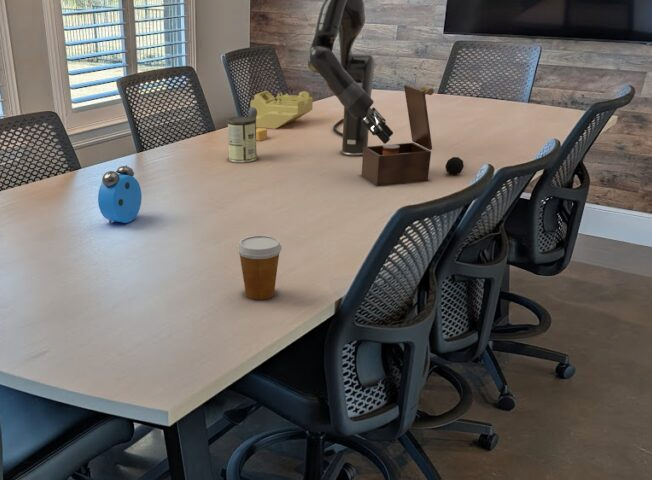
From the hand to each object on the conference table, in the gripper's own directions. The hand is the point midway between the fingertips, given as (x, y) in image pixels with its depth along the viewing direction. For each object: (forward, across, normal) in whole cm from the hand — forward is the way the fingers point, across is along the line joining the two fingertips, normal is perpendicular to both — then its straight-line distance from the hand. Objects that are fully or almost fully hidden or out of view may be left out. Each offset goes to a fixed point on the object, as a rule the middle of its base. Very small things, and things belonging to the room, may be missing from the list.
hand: (389, 138), depth 228 cm
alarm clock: (-39, -58, +57) cm, 90 cm away
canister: (+9, 0, +8) cm, 12 cm away
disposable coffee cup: (-2, -98, +20) cm, 100 cm away
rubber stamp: (-33, +51, +52) cm, 80 cm away
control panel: (-30, +79, +50) cm, 98 cm away
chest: (+11, +1, +7) cm, 13 cm away
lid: (+1, +4, -9) cm, 10 cm away
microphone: (+24, +16, -6) cm, 30 cm away
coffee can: (-29, +17, +48) cm, 58 cm away
